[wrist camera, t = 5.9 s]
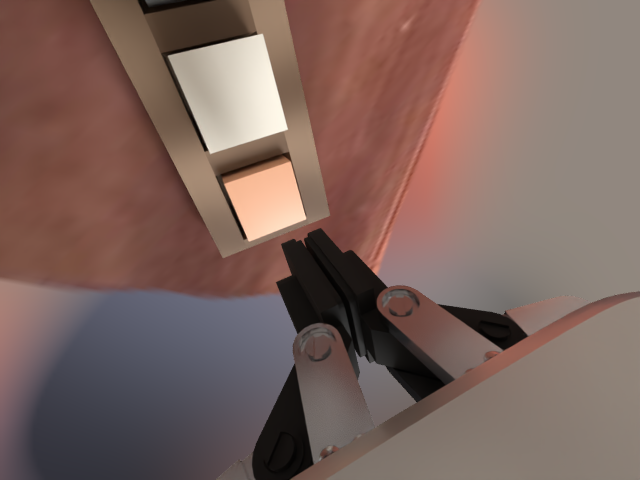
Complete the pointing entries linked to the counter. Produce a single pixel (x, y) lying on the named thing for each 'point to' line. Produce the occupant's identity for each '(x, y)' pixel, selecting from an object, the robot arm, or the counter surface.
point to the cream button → (231, 91)
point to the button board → (175, 113)
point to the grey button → (160, 2)
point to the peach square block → (265, 196)
